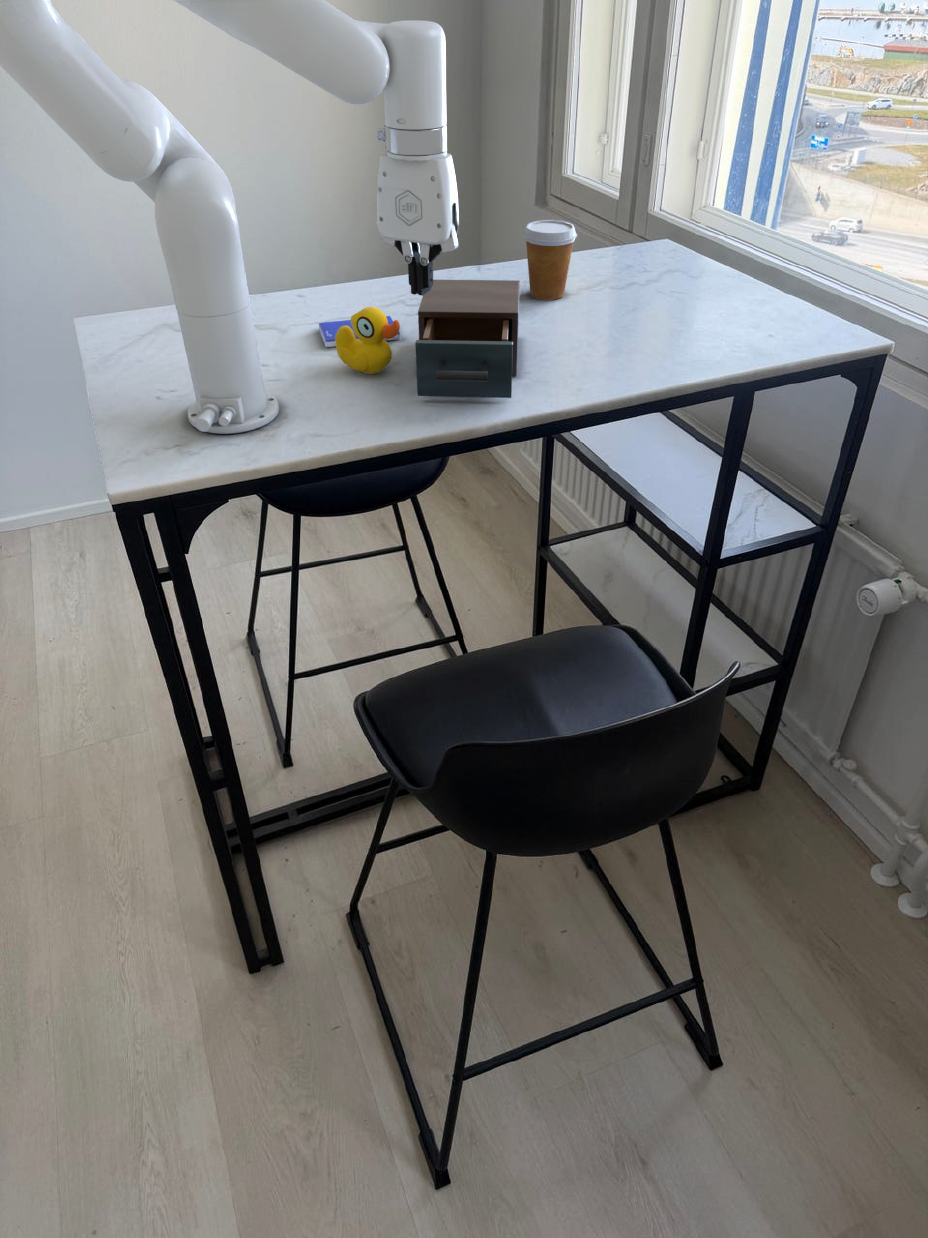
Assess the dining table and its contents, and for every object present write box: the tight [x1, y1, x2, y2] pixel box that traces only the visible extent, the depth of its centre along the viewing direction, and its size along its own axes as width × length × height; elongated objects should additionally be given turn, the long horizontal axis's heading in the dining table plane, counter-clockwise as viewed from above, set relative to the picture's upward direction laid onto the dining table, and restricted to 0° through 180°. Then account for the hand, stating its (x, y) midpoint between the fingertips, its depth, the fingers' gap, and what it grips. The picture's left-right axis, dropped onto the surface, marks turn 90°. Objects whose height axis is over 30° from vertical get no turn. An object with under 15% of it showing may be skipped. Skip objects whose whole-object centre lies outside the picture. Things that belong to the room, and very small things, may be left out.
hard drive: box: [318, 315, 401, 348], centre depth 146 cm, size 2×8×12 cm
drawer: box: [414, 318, 513, 399], centre depth 126 cm, size 19×14×8 cm
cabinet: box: [417, 279, 521, 378], centre depth 136 cm, size 15×15×10 cm
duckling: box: [335, 306, 401, 375], centre depth 132 cm, size 11×5×10 cm, turn 62°
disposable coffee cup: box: [523, 219, 578, 301], centre depth 158 cm, size 10×10×12 cm
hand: (421, 291), depth 119 cm, fingers closed
